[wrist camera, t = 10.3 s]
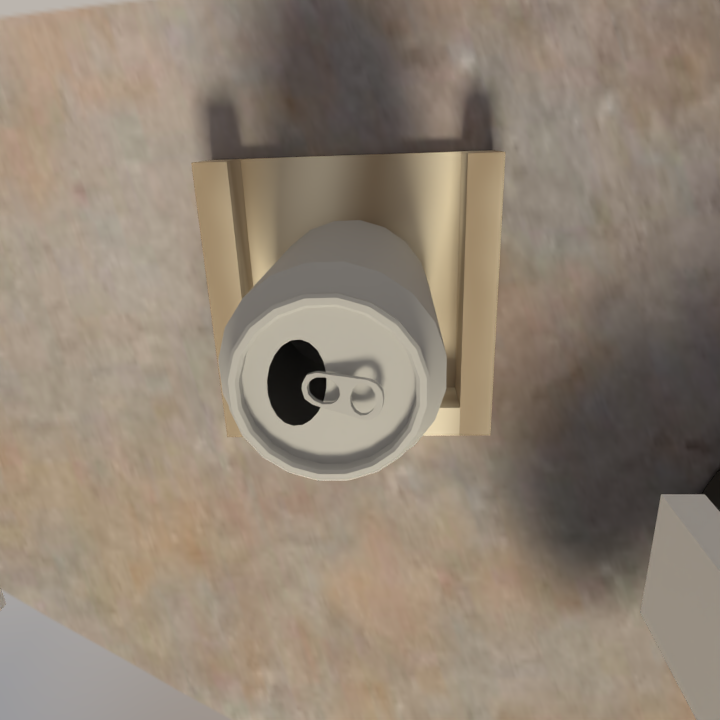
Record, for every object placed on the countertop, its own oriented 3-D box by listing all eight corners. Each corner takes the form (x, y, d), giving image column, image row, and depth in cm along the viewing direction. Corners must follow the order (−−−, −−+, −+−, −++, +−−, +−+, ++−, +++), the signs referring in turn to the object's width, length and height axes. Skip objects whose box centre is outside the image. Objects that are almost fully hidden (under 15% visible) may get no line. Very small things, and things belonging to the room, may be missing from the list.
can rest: (493, 150, 26) (505, 152, 24) (481, 408, 31) (490, 435, 28) (211, 159, 27) (191, 162, 24) (241, 410, 32) (227, 437, 29)
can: (281, 207, 27) (204, 256, 16) (440, 227, 27) (474, 290, 16) (272, 356, 30) (200, 487, 19) (416, 374, 30) (431, 516, 19)
